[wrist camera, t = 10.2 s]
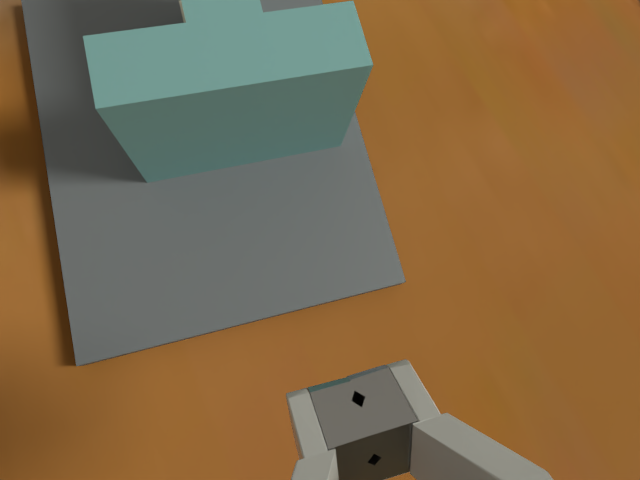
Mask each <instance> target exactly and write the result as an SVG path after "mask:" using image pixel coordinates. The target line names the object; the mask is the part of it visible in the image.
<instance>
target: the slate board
mask: <svg viewBox="0 0 640 480" xmlns="http://www.w3.org/2000/svg"><path fill="white" fill-rule="evenodd" d="M21 1H22V8H23V14H24V21H25V28H26V34H27V41H28V48H29V54H30V61H31V68H32V74H33V81H34V88H35V94H36V101H37V108H38V114H39V121H40V128H41V134H42V141H43V148H44V154H45V161H46V168H47V174H48V181H49V188H50V194H51V201H52V208H53V214H54V221H55V228H56V234H57V241H58V248H59V254H60V261H61V268H62V274H63V281H64V288H65V294H66V301H67V308H68V314H69V321H70V328H71V334H72V341H73V348H74V354H75V361H76V366H82V365H87V364H91V363H95V362H99V361H103V360H107V359H110V358H114V357H118V356H122V355H126V354H130V353H134V352H138V351H142V350H146V349H149V348H153V347H157V346H161V345H165V344H169V343H173V342H177V341H181V340H185V339H188V338H192V337H196V336H200V335H204V334H208V333H212V332H216V331H220V330H224V329H227V328H231V327H235V326H239V325H243V324H247V323H251V322H255V321H259V320H263V319H266V318H270V317H274V316H278V315H282V314H286V313H290V312H294V311H298V310H302V309H305V308H309V307H313V306H317V305H321V304H325V303H329V302H333V301H337V300H340V299H344V298H348V297H352V296H356V295H360V294H364V293H368V292H372V291H376V290H379V289H383V288H387V287H391V286H395V285H399V284H402V283H404V282H406V281H405V277H404V274H403V271H402V267H401V264H400V261H399V257H398V254H397V251H396V247H395V244H394V241H393V237H392V234H391V231H390V227H389V224H388V221H387V217H386V214H385V211H384V207H383V204H382V201H381V197H380V194H379V191H378V187H377V184H376V181H375V177H374V174H373V171H372V167H371V164H370V160H369V157H368V154H367V150H366V147H365V144H364V140H363V137H362V134H361V130H360V127H359V124H358V120H357V117H356V114H355V112H354V114H353V117H352V119H351V122H350V124H349V127H348V129H347V132H346V134H345V137H344V139H343V142H342V144H341V146H338V147H333V148H328V149H322V150H317V151H312V152H307V153H301V154H296V155H291V156H286V157H280V158H275V159H270V160H264V161H259V162H254V163H249V164H243V165H238V166H233V167H228V168H222V169H217V170H212V171H207V172H201V173H196V174H191V175H185V176H180V177H175V178H170V179H164V180H159V181H154V182H149V183H147V182H146V180H145V179H144V178H143V176H142V175H141V173H140V172H139V170H138V169H137V168H136V166H135V165H134V163H133V162H132V160H131V159H130V158H129V156H128V155H127V153H126V152H125V150H124V149H123V147H122V146H121V145H120V143H119V142H118V140H117V139H116V137H115V136H114V135H113V133H112V132H111V130H110V129H109V127H108V126H107V125H106V123H105V122H104V120H103V119H102V117H101V116H100V115H99V113H98V112H97V110H96V109H95V103H94V97H93V92H92V86H91V80H90V74H89V69H88V63H87V57H86V51H85V46H84V40H83V36H86V35H94V34H102V33H109V32H117V31H125V30H132V29H140V28H148V27H155V26H163V25H171V24H178V23H186V20H185V15H184V11H183V7H182V2H181V0H21ZM260 2H261V6H262V10H263V12H271V11H278V10H286V9H294V8H301V7H309V6H317V5H323V3H322V0H260Z"/></svg>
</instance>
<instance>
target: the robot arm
mask: <svg viewBox="0 0 640 480" xmlns="http://www.w3.org/2000/svg"><path fill="white" fill-rule="evenodd" d="M286 399H287V404H288V410H289V415H290V420H291V425H292V430H293V435H294V439H295V444H296V448H297V452H298V456H299V459H300V460H297V462H296V465H295V468H294V471H293V474H292V477H291V480H384V479H388V478H391V477H394V476H397V475H400V474H404V473H407V472H410V474H411V475H412V476H414V477H415V478H416V479H417V480H553V479H552V477H551V476H550V475H549V473H548V472H547V471H546V470H544V469H542V468H541V467H539V466H537V465H535V464H534V463H532V462H530V461H529V460H527V459H525V458H523V457H522V456H520V455H518V454H517V453H515V452H513V451H512V450H510V449H508V448H506V447H505V446H503V445H501V444H500V443H498V442H496V441H494V440H493V439H491V438H489V437H488V436H486V435H484V434H482V433H481V432H479V431H477V430H476V429H474V428H472V427H471V426H469V425H467V424H465V423H464V422H462V421H460V420H459V419H457V418H455V417H453V416H452V415H450V414H448V413H444V414H441V413H440V412H439V410H438V408H437V407H436V405H435V403H434V402H433V400H432V399H431V397H430V395H429V394H428V392H427V390H426V389H425V387H424V385H423V384H422V382H421V380H420V379H419V377H418V375H417V374H416V372H415V370H414V369H413V367H412V365H411V364H410V362H409V361H407V360H406V359H405V360H401V361H398V362H394V363H391V364H388V365H382V366H379V367H376V368H373V369H369V370H366V371H363V372H360V373H356V374H353V375H350V376H347V377H346V378H342V379H338V380H335V381H331V382H327V383H323V384H319V385H315V386H312V387H308V388H304V389H301V390H297V391H293V392H290V393H286Z"/></svg>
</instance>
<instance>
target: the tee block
mask: <svg viewBox="0 0 640 480" xmlns="http://www.w3.org/2000/svg"><path fill="white" fill-rule="evenodd" d="M181 2H182V7H183V11H184V15H185V20H186V23H178V24H171V25H163V26H155V27H148V28H140V29H132V30H125V31H117V32H109V33H102V34H94V35H86V36H83V40H84V46H85V51H86V57H87V63H88V69H89V74H90V80H91V86H92V92H93V97H94V103H95V109H96V110H97V112H98V113H99V115H100V116H101V117H102V119H103V120H104V122H105V123H106V125H107V126H108V127H109V129H110V130H111V132H112V133H113V135H114V136H115V137H116V139H117V140H118V142H119V143H120V145H121V146H122V147H123V149H124V150H125V152H126V153H127V155H128V156H129V158H130V159H131V160H132V162H133V163H134V165H135V166H136V168H137V169H138V170H139V172H140V173H141V175H142V176H143V178H144V179H145V180H146V182H147V183H149V182H154V181H159V180H164V179H170V178H175V177H180V176H185V175H191V174H196V173H201V172H207V171H212V170H217V169H222V168H228V167H233V166H238V165H243V164H249V163H254V162H259V161H264V160H270V159H275V158H280V157H286V156H291V155H296V154H301V153H307V152H312V151H317V150H322V149H328V148H333V147H338V146H341V144H342V142H343V139H344V137H345V134H346V132H347V129H348V127H349V124H350V122H351V119H352V117H353V114H354V112H355V109H356V107H357V104H358V102H359V99H360V97H361V94H362V92H363V89H364V87H365V84H366V82H367V79H368V77H369V74H370V72H371V69H372V67H373V63H372V59H371V56H370V53H369V50H368V47H367V43H366V40H365V37H364V34H363V31H362V27H361V24H360V21H359V18H358V15H357V11H356V8H355V5H354V2H353V1H347V2H340V3H332V4H324V5H317V6H309V7H301V8H294V9H286V10H278V11H271V12H263V10H262V6H261V2H260V0H181Z"/></svg>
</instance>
